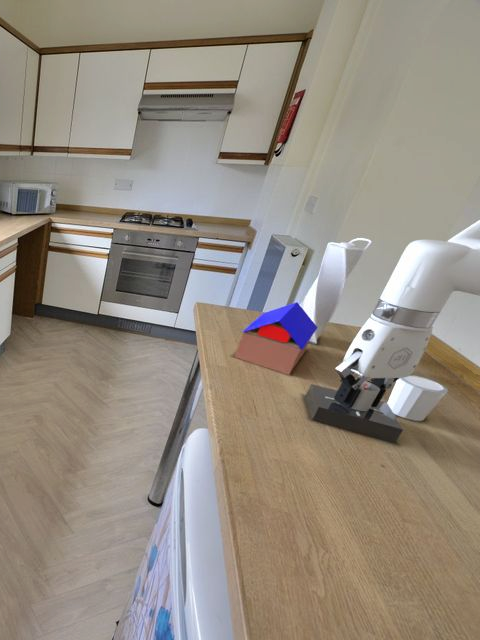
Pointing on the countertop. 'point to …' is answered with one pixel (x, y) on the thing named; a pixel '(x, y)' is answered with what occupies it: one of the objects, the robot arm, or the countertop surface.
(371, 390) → the hob knob
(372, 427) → the hob panel
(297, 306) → the house
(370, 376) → the robot arm
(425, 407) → the shot glass
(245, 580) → the countertop surface
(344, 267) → the skyscraper
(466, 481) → the countertop surface
